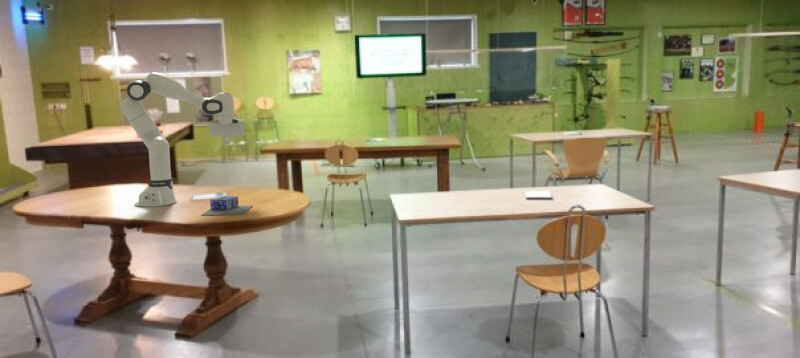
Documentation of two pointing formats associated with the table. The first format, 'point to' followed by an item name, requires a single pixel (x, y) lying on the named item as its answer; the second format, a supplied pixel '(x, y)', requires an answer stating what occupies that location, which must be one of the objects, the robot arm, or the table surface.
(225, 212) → the mat
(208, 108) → the robot arm
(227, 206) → the ink cartridge box
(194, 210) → the table surface
